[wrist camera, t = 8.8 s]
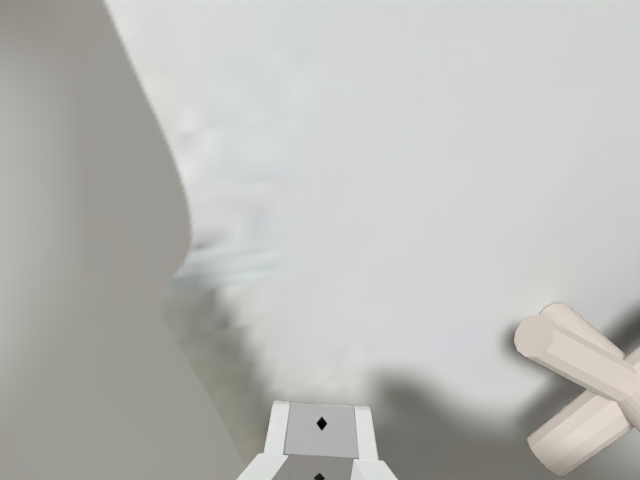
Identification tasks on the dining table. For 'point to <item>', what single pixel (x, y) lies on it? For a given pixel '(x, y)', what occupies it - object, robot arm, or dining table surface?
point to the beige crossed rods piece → (587, 371)
